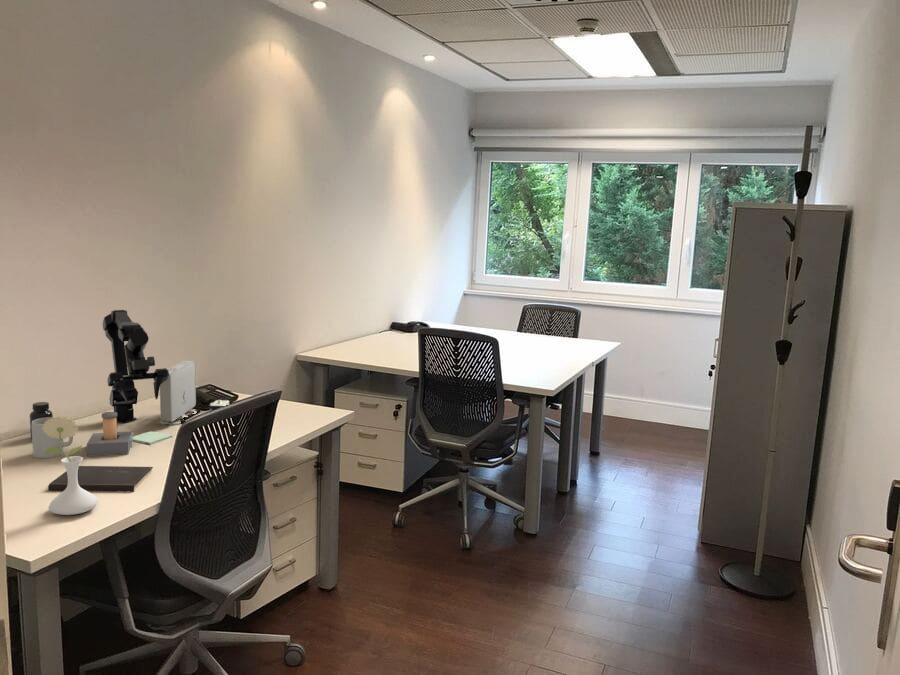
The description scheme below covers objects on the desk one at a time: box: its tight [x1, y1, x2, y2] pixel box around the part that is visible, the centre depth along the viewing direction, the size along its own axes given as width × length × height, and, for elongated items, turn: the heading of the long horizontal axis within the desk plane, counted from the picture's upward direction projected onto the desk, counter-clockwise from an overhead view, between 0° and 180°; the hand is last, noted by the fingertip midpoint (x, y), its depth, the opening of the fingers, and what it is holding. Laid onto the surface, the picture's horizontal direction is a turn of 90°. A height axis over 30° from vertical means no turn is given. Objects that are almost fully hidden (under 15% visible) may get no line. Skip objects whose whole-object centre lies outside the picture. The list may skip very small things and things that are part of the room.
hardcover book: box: [47, 465, 154, 493], centre depth 209 cm, size 16×23×2 cm
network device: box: [159, 360, 198, 426], centre depth 275 cm, size 26×9×20 cm, turn 179°
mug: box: [31, 416, 74, 459], centre depth 229 cm, size 12×8×11 cm
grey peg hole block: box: [86, 431, 134, 457], centre depth 236 cm, size 12×12×4 cm
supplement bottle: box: [29, 401, 54, 440], centre depth 245 cm, size 7×7×12 cm
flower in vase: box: [42, 416, 99, 516], centre depth 186 cm, size 13×11×25 cm
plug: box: [101, 411, 118, 440], centre depth 236 cm, size 5×5×12 cm
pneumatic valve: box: [208, 399, 230, 411], centre depth 259 cm, size 6×12×12 cm, turn 3°
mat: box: [133, 430, 173, 445], centre depth 250 cm, size 10×10×1 cm
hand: (142, 400), depth 243 cm, fingers open, 9 cm apart
